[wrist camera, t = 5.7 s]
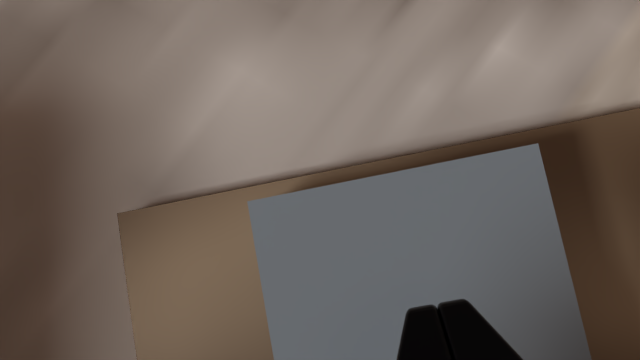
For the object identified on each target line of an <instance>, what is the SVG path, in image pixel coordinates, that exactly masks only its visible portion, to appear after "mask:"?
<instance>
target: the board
mask: <svg viewBox="0 0 640 360" xmlns="http://www.w3.org/2000/svg"><path fill="white" fill-rule="evenodd" d="M537 143H538V145H539V149H540V153H541V157H542V161H543V165H544V169H545V173H546V177H547V181H548V185H549V189H550V193H551V197H552V201H553V205H554V210H555V214H556V218H557V222H558V226H559V230H560V234H561V238H562V242H563V246H564V250H565V254H566V258H567V262H568V266H569V270H570V274H571V278H572V282H573V286H574V290H575V294H576V298H577V302H578V306H579V311H580V315H581V319H582V323H583V327H584V331H585V335H586V339H587V343H588V347H589V351H590V355H591V359H592V360H640V108H638V109H633V110H628V111H623V112H618V113H613V114H608V115H603V116H598V117H593V118H588V119H583V120H578V121H573V122H568V123H563V124H558V125H553V126H549V127H544V128H539V129H534V130H529V131H524V132H519V133H514V134H509V135H504V136H499V137H494V138H489V139H484V140H479V141H474V142H469V143H464V144H459V145H454V146H449V147H444V148H440V149H435V150H430V151H425V152H420V153H415V154H410V155H405V156H400V157H395V158H390V159H385V160H380V161H375V162H370V163H365V164H360V165H355V166H350V167H345V168H340V169H335V170H331V171H326V172H321V173H316V174H311V175H306V176H301V177H296V178H291V179H286V180H281V181H276V182H271V183H266V184H261V185H256V186H251V187H246V188H241V189H236V190H231V191H226V192H222V193H217V194H212V195H207V196H202V197H197V198H192V199H187V200H182V201H177V202H172V203H167V204H162V205H157V206H152V207H147V208H142V209H137V210H132V211H127V212H122V213H117V216H118V223H119V231H120V238H121V245H122V253H123V260H124V268H125V275H126V282H127V290H128V297H129V305H130V312H131V319H132V327H133V334H134V342H135V349H136V357H137V360H274V357H273V351H272V345H271V339H270V333H269V328H268V322H267V316H266V310H265V304H264V298H263V292H262V286H261V280H260V274H259V268H258V262H257V256H256V251H255V245H254V239H253V233H252V227H251V221H250V215H249V209H248V203H247V201H252V200H257V199H262V198H267V197H272V196H277V195H282V194H287V193H292V192H297V191H302V190H307V189H312V188H317V187H322V186H327V185H332V184H337V183H342V182H347V181H352V180H357V179H362V178H367V177H372V176H377V175H382V174H387V173H392V172H397V171H402V170H407V169H412V168H417V167H422V166H427V165H432V164H437V163H442V162H447V161H452V160H457V159H462V158H467V157H472V156H477V155H482V154H487V153H492V152H497V151H502V150H507V149H512V148H517V147H522V146H527V145H532V144H537Z"/></svg>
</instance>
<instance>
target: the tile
mask: <svg viewBox="0 0 640 360" xmlns="http://www.w3.org/2000/svg"><path fill="white" fill-rule="evenodd" d="M247 203H248V209H249V215H250V221H251V227H252V233H253V239H254V245H255V251H256V256H257V262H258V268H259V274H260V280H261V286H262V292H263V298H264V304H265V310H266V316H267V322H268V328H269V333H270V339H271V345H272V351H273V357H274V360H396V359H397V354H398V349H399V344H400V339H401V334H402V329H403V325H404V320H405V315H406V312H407V310H408V309H410V308H413V307H418V306H424V305H429V304H432V305H435V306H436V307H437V306H438V304H439V303H441V302H446V301H451V300H457V299H466V300H467V301H469V302H470V303H471V304H472V305H473V306H474V307H475V308H476V309H477V311H478V312H479V313H480V314H481V315H482V316H483V317H484V318H485V319H486V320H487V321H488V322H489V323H490V324H491V326H492V327H493V328H494V329H495V330H496V331H497V332H498V333H499V334H500V335H501V336H502V337H503V338H504V339H505V340H506V342H507V343H508V344H509V345H510V346H511V347H512V348H513V349H514V350H515V351H516V352H517V353H518V354H519V355H520V357H521V358H522V359H523V360H592V359H591V355H590V351H589V347H588V343H587V339H586V335H585V331H584V327H583V323H582V319H581V315H580V311H579V306H578V302H577V298H576V294H575V290H574V286H573V282H572V278H571V274H570V270H569V266H568V262H567V258H566V254H565V250H564V246H563V242H562V238H561V234H560V230H559V226H558V222H557V218H556V214H555V210H554V205H553V201H552V197H551V193H550V189H549V185H548V181H547V177H546V173H545V169H544V165H543V161H542V157H541V153H540V149H539V145H538V143H537V144H532V145H527V146H522V147H517V148H512V149H507V150H502V151H497V152H492V153H487V154H482V155H477V156H472V157H467V158H462V159H457V160H452V161H447V162H442V163H437V164H432V165H427V166H422V167H417V168H412V169H407V170H402V171H397V172H392V173H387V174H382V175H377V176H372V177H367V178H362V179H357V180H352V181H347V182H342V183H337V184H332V185H327V186H322V187H317V188H312V189H307V190H302V191H297V192H292V193H287V194H282V195H277V196H272V197H267V198H262V199H257V200H252V201H247Z"/></svg>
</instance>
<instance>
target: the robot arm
mask: <svg viewBox="0 0 640 360" xmlns="http://www.w3.org/2000/svg"><path fill="white" fill-rule="evenodd" d="M396 360H523V359H522V358H521V357H520V355H519V354H518V353H517V352H516V351H515V350H514V349H513V348H512V347H511V346H510V345H509V344H508V343H507V342H506V340H505V339H504V338H503V337H502V336H501V335H500V334H499V333H498V332H497V331H496V330H495V329H494V328H493V327H492V326H491V324H490V323H489V322H488V321H487V320H486V319H485V318H484V317H483V316H482V315H481V314H480V313H479V312H478V311H477V309H476V308H475V307H474V306H473V305H472V304H471V303H470V302H469V301H467V300H466V299H457V300H451V301H446V302H441V303H439V304H438V306H437V307H436V306H435V305H432V304H429V305H424V306H418V307H413V308H410V309H408V310H407V312H406V315H405V320H404V325H403V329H402V334H401V339H400V344H399V349H398V354H397V359H396Z"/></svg>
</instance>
